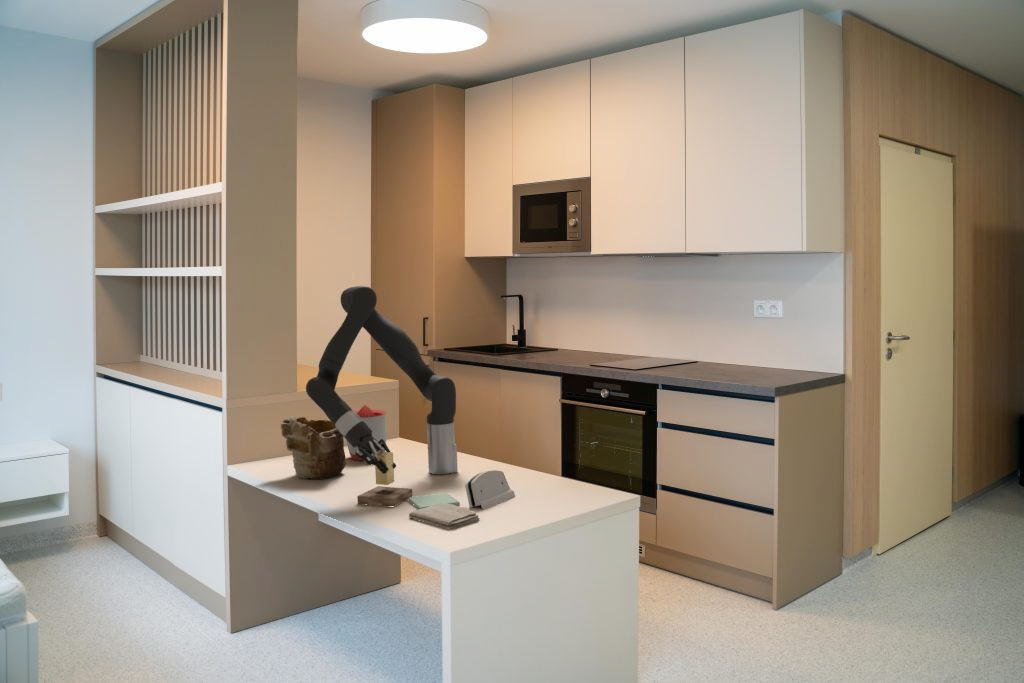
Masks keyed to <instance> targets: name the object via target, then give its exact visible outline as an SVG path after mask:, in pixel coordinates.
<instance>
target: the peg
mask: <svg viewBox="0 0 1024 683" xmlns="http://www.w3.org/2000/svg"><path fill="white" fill-rule="evenodd" d="M377 456H378V457H379V458H380V461H382V462H383V463H384V464H385V465H386V466H387V467H388V469H389V470H388V471H387V472H386V473H385V474H383V473H382V472H381V471H380V470H379V469H378V468H377V467H376V465H375V466H374V468H375V469H374V471H375V472H374V473H375V485H380V486H381V485H384V486H385V485H386V486H388V485H390V484H393V483H394V482H395V470H394V469H395V468H394V467H393V462H394V452H391V451H390V452H386V451H385V452H380V453H378V454H377Z"/></svg>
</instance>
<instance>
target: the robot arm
mask: <svg viewBox="0 0 1024 683" xmlns="http://www.w3.org/2000/svg"><path fill="white" fill-rule="evenodd" d="M377 301H378V297H377V294H376V292H375V290H374V289H373V288H371V287H370V286H369V285H368V286H367V285H358V286H350V287H348V288H346V289H344V290H343V291H342V293H341V294H340V305H341V307H342V309H343V310H344V312H345V313H346V316H345V318H344V320H343V322H342V324H341V326H340V327H339V328H338V329H337V331H336V332H335V334H334V335H333V336H332V337H331V339H330V340H329V342H328V344H326V347H325V349H324V351H323V354H322V356H321V357H320V360H319V363H318V372H317V374H316V376H315V377H311V378H310V379H309V380H307V383H306V384H305V391H306V394H307V396H308V397H309V398H310V399H311V400H312V401H313V402H314V403H315V404H316V405H317V406H318V407H319V408H320V409H321V410H322V411H323V413H324V414H325V415H326V417H327V419H330V421H331V422H332V423H333V424H334V425H335V426H336V427H337V429H338V430H339V432H340V433H341V434H342V435H343V439H344V440H345V441H346V440H347V441H348V442H349V443H350V444H351V445H352V447H354V448H357V447H358V450H357V451H356V452H355V454H356V455H357V456H358V457H359V458H361V459H362V460H361V461H363V462H365V463H366V464H367V465H368V466H374V467H375V465H376V467H377V468H378V469H379V470H380V471H381V472H382V473H383V474H385V473H386V472H387V471H388V470H389V469H388V467H387V466H386V465H385V464H384V463H383V462H382V461H380V458H379V457H378V456H377V454H378V453H377V452H378V451H379V450H380V452H391V450H390V449H389V447H388V444H387V442H386V443H385V442H384V440H383V439H381V440H380V441H377V440H376V439H375V438H373V437H372V430H371V429H370V428H369V427H368V426H367V424H366V423H365V422H364V421H363V420H362V419H361V418H360V417H359V416H358V415H357V414H356V413H355V412H354V411H355V410H353V409H352V407H351V406H350V405H349V404H348V403H347V401H344V400H343V399H342V398H341V397H340V395H339V394H338V393H337V392H336V391H335V389H336V386H337V383H338V378H339V375H340V372H341V370H342V369H343V367H344V365H345V361H346V359H347V357H348V355H349V353H350V350H351V348H352V346H353V344H354V342H355V341H356V339H357V337H358V335H359V333H360V332H361V330H362V329H364V330H365V331H366V332H367V333H368V334H369V335H370V337H371V338H372V339H373V340H374V341H375V343H377V345H379V347H380V348H381V349H382V350H383V351H384V353H385V354H387V356H388V357H389V358H390V359H391V360H392V361H393V362H394V363H395V364H396V366H397V367H398V368H400V369H401V370H402V371H403V372H404V373H405V374H406V375H407V376H408V377H409V378H410V380H411V381H412V382H413V384H414V386H416V387H417V389H418V390H419V392H420V393H421V395H422V396H423V397H424V398H425V399H426V400H427V401H429V402H431V411H430V413H428V414H427V415H426V432H427V433H426V434H427V456H428V458H427V460H428V461H427V462H428V464H427V465H428V473H429V474H430V473H432V474H431V475H435V474H444V475H450V474H449V473H451V474H454V473H457V472H456V471H458V446H457V445H458V444H456V443H455V441H456V440H455V415H456V412H457V411H456V410H457V390H456V386H455V382H454V381H453V379H451V378H450V377H448V376H444V375H438V374H437V373H436V372H434V371H433V370H432V369H431V368H430V367H429V366H428V365H427V364H426V363H425V361H424V359H423V358H422V355H421V353H420V351H419V348H418V346H417V345H416V343H415V342H414V340H413V339H412V338H411V337H410V336H409V335H408V334H407V333H406V332H405V331H404V330H403V329H402V328H401V327H400V326H398V325H397V324H395V323H394V322H392V321H390V320H389V319H388V318H386V317H384V316H383V315H381V313H380V312H378V310H377V309H376V308H375V307H376V305H377ZM380 452H379V453H380ZM374 457H375V458H374ZM366 458H367V459H366ZM393 467H394V469H395V468H396V467H397V464H396V463H395V462H394V461H393ZM453 472H454V473H453ZM458 472H459V471H458Z"/></svg>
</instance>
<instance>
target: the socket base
mask: <svg viewBox="0 0 1024 683" xmlns="http://www.w3.org/2000/svg"><path fill="white" fill-rule="evenodd" d="M413 495H414V494H413V488H406V487H394V486H381V485H380V486H379V485H378V486H375V487H373V488H371V489H370V490H367V491H365V492H363V493H361V494H359V495H357V505H359V504H367V505H366V506H371V505H378V506H377V507H383V506H395V505H397V504H398V505H400V504H402V503H404V502H406V501H408V500H407V499H408V498H410V497H412V496H413ZM413 497H414V496H413ZM405 500H406V501H405ZM403 501H404V502H403ZM401 502H402V503H401ZM399 503H400V504H399ZM398 505H397V506H398ZM395 507H396V506H395Z"/></svg>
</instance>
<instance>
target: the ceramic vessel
mask: <svg viewBox="0 0 1024 683" xmlns="http://www.w3.org/2000/svg"><path fill="white" fill-rule="evenodd" d="M280 430H281V436H282V437H283V438H285V439H286V440H285V441H286V442H285V445H286V450H287V451H289V452H292V462H293V468H294V470H295V471H294V472H295V474H296V475H297V477H298V478H300V479H307V478H311V479H310V480H312V479H313V480H314V479H316V480H321V479H322V478H326V479H329V478H333V477H335V476H337V475H340V474H341V473H342V472H343V471H344V469H345V467H346V464H347V460H346V453H345V448H344V447H345V446H344V445H345V443H344V440H345V439H344V436H343V435H342V434H341V433H340V432H339V430H338V429H337V427H336V426H335V425H334V424H333V423H332V422H331V421H330V419H329V418H325V419H322V418H321V419H316V420H315V419H310V420H308V419H307V418H306V417H304V416H302V417H295V415H294V416H293V415H292V416H291V417H290V418H288V419H283V420H282V421H281V423H280ZM322 480H323V479H322Z"/></svg>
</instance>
